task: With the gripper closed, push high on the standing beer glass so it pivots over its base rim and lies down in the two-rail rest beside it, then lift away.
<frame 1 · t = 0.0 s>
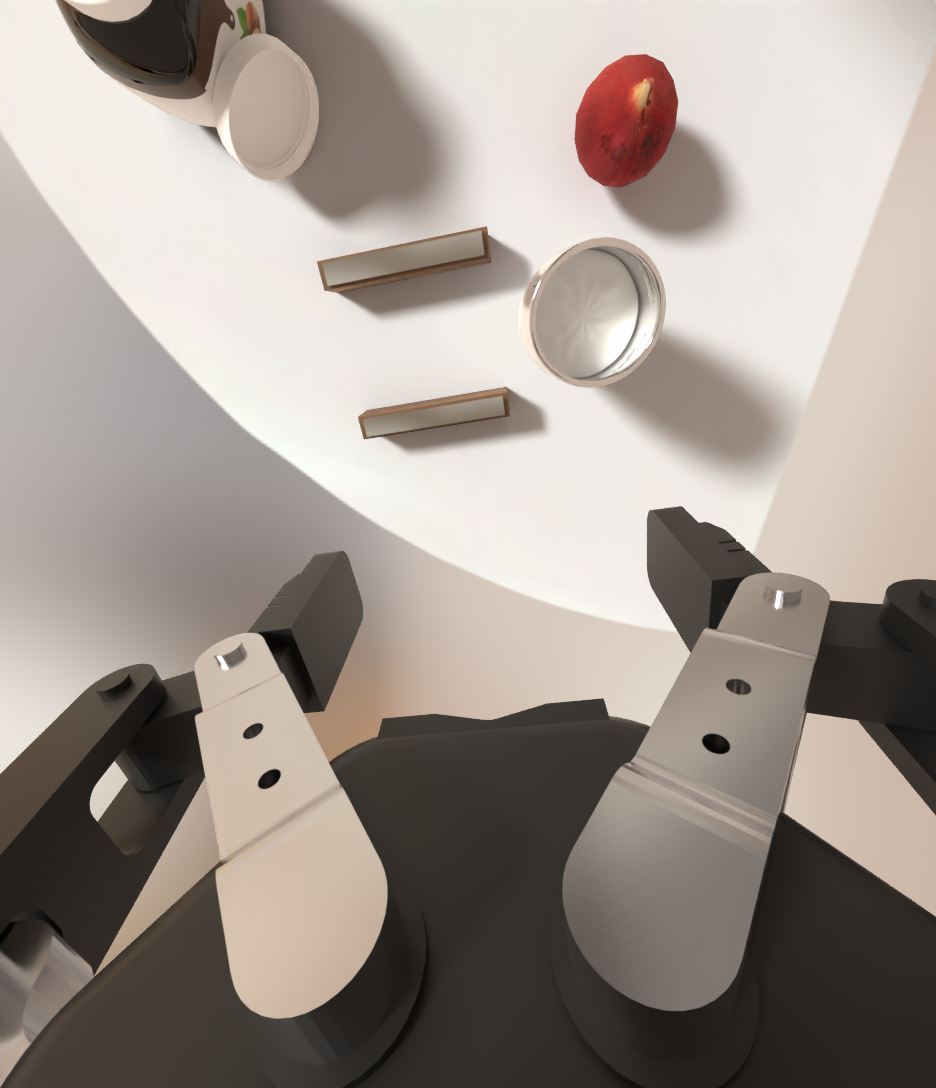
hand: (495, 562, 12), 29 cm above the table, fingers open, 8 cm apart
beer glass: (555, 317, 36), on the table
cradle: (424, 341, 37), on the table
spread jar: (243, 70, 30), on the table
onion: (609, 146, 31), on the table
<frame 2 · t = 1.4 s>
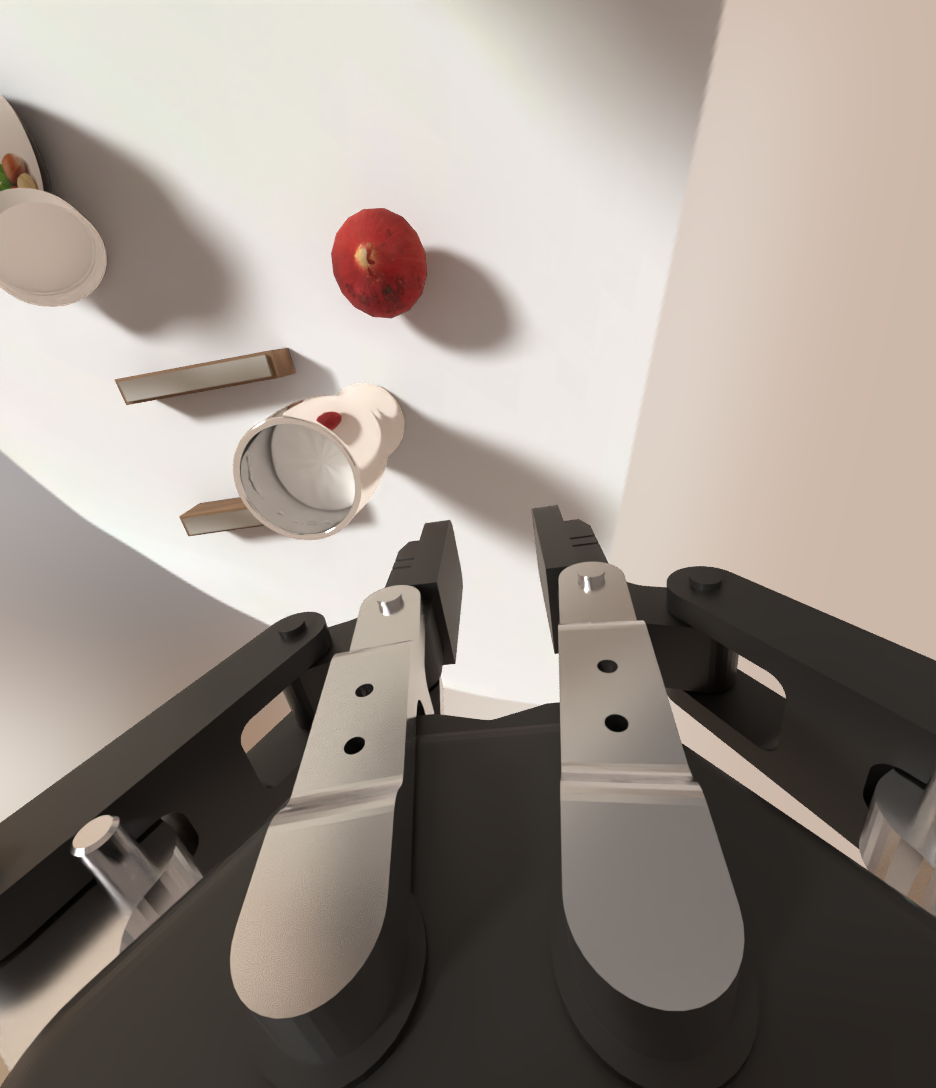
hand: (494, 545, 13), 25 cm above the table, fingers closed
beer glass: (367, 421, 37), on the table
cradle: (244, 442, 38), on the table
spread jar: (31, 201, 31), on the table
onion: (392, 271, 32), on the table
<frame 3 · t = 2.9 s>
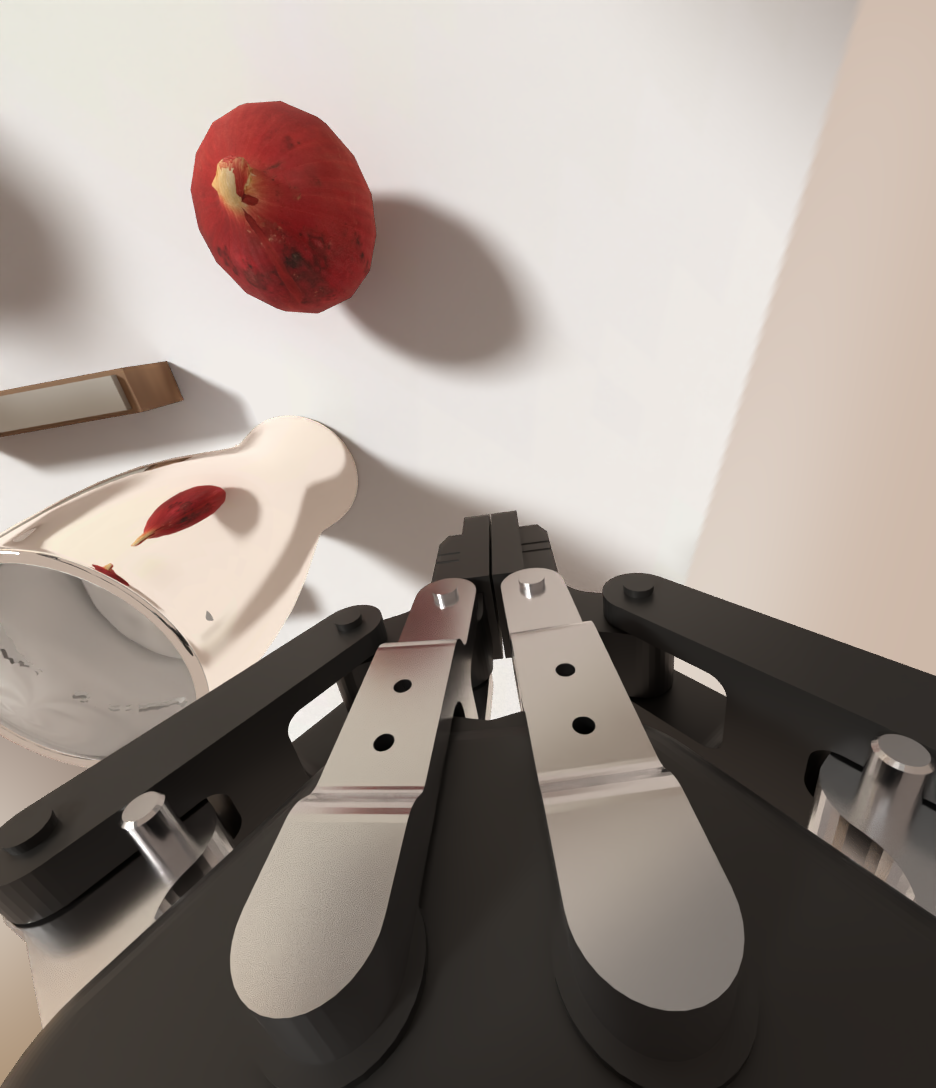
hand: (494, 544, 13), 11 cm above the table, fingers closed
beer glass: (302, 472, 24), on the table
cradle: (118, 502, 25), on the table
onion: (326, 235, 19), on the table
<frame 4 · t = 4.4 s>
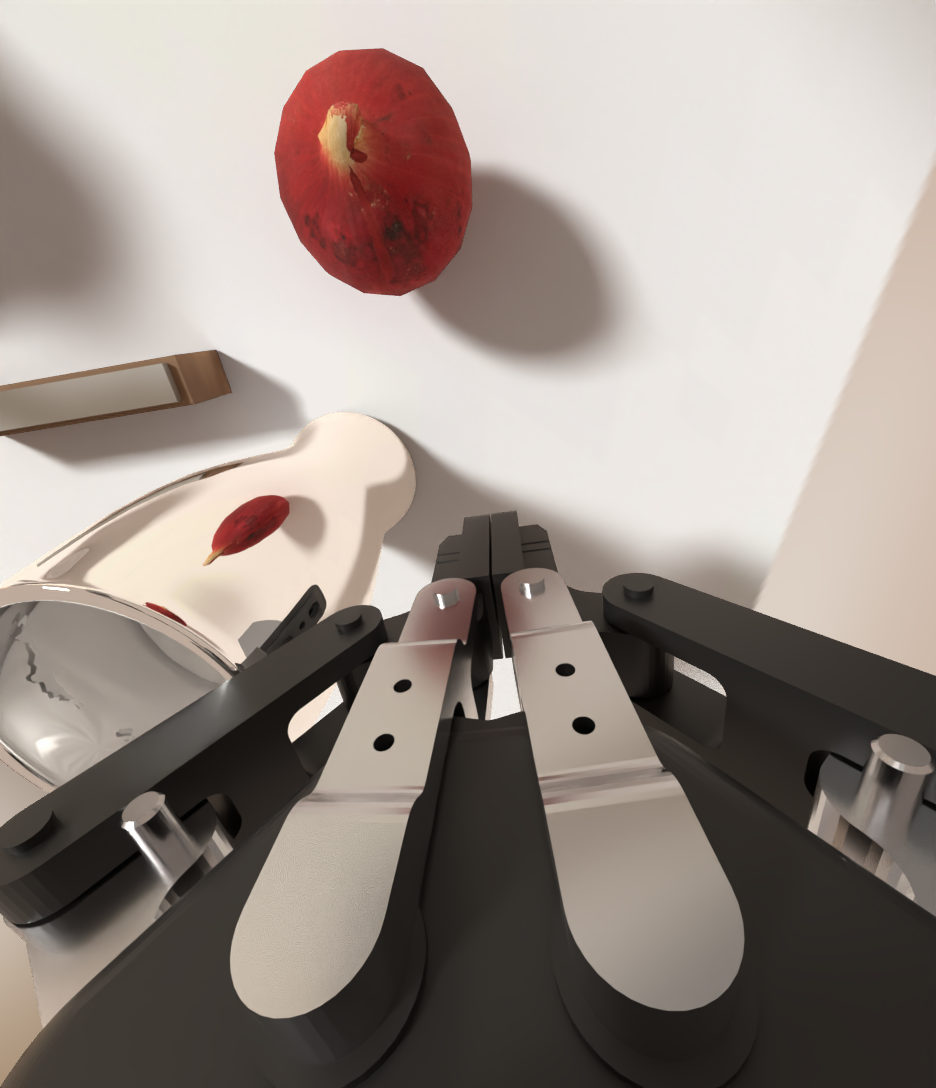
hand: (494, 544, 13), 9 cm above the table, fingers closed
beer glass: (355, 474, 22), on the table, touching hand
cradle: (153, 503, 23), on the table
onion: (399, 213, 18), on the table
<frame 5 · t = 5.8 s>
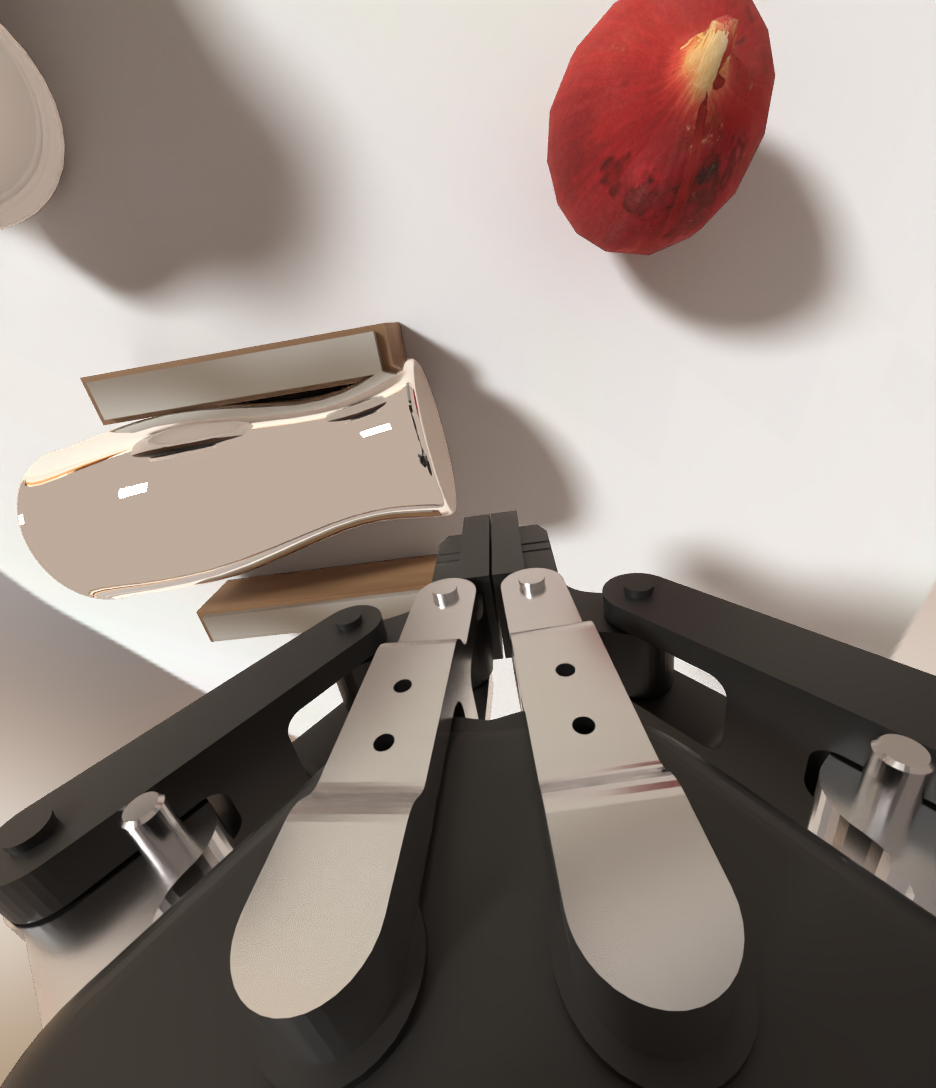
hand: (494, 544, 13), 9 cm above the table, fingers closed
beer glass: (442, 436, 18), point 3 cm above the table, touching cradle
cradle: (307, 486, 22), on the table
onion: (616, 173, 17), on the table
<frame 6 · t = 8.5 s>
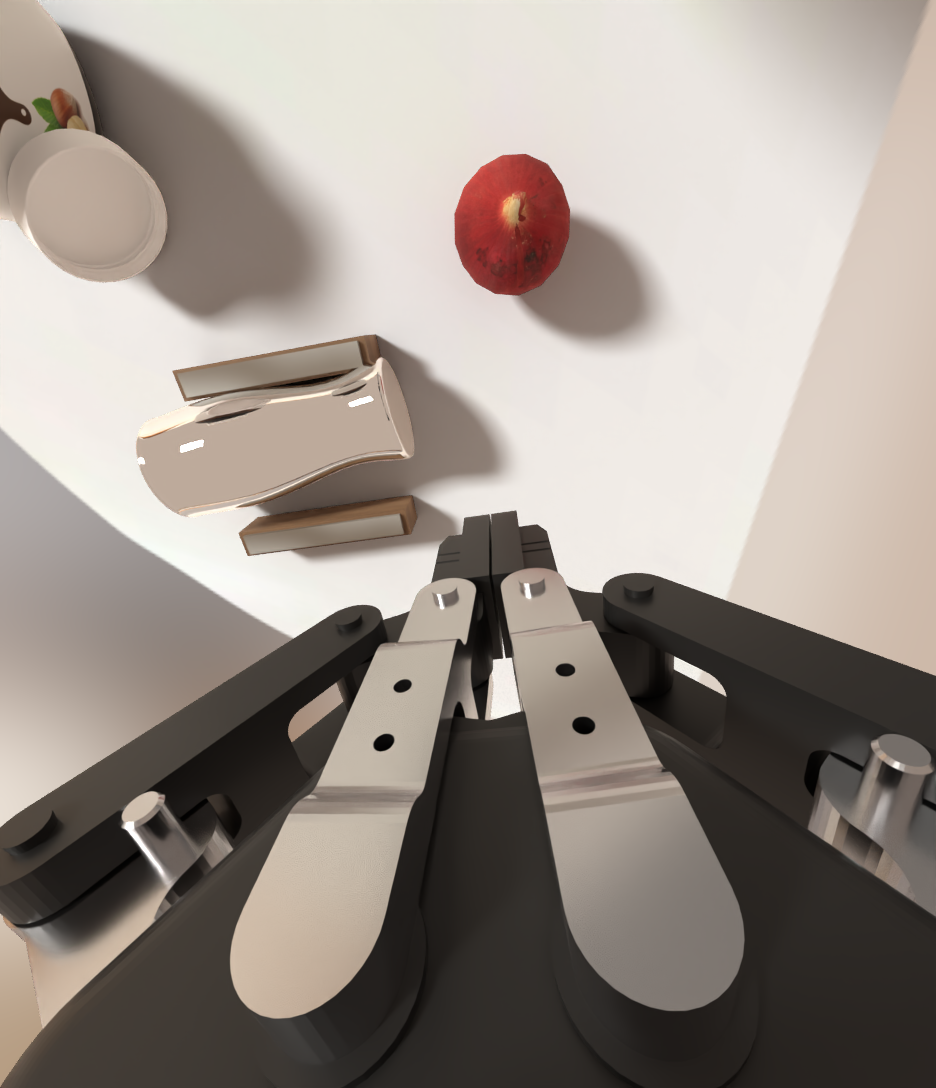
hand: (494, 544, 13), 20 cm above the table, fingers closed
beer glass: (402, 407, 28), point 3 cm above the table, touching cradle
cradle: (315, 446, 32), on the table
spread jar: (79, 156, 26), on the table
onion: (508, 242, 27), on the table
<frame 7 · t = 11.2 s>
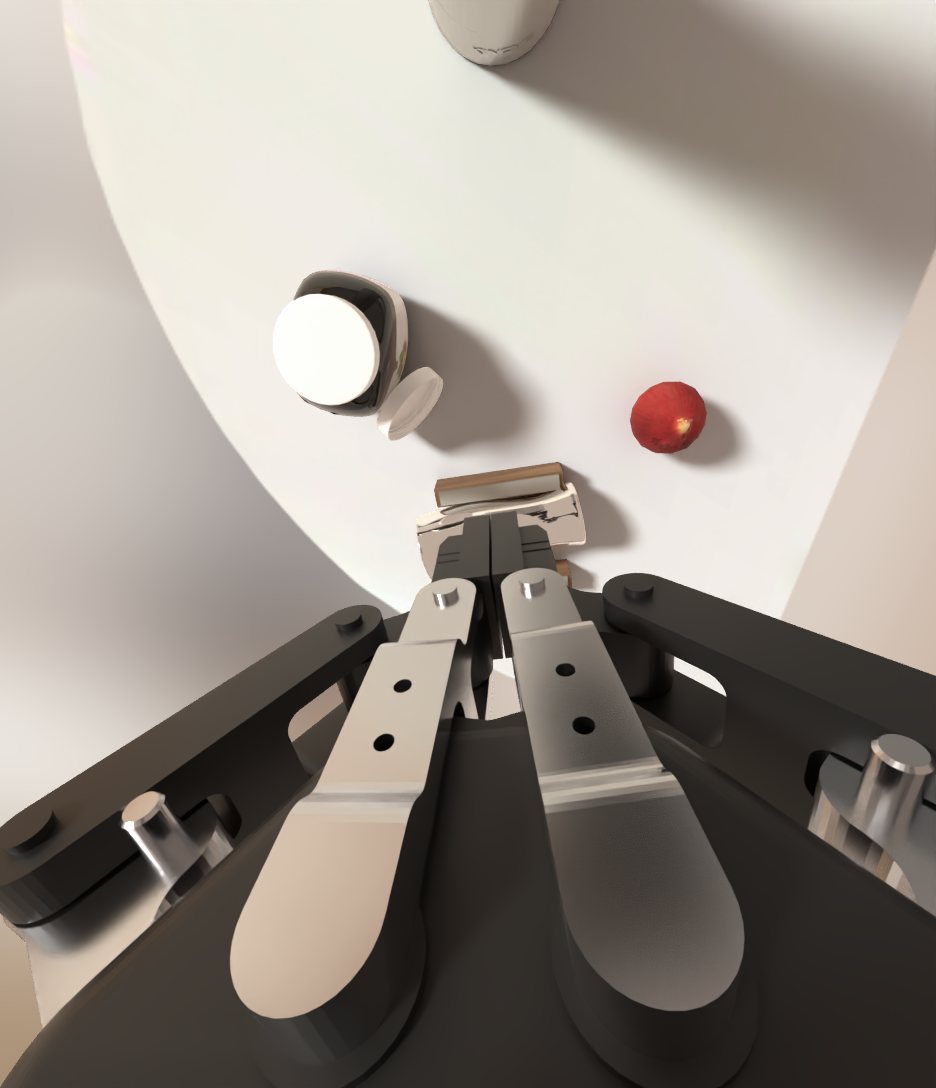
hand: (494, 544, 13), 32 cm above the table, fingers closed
beer glass: (579, 512, 44), point 3 cm above the table, touching cradle
cradle: (505, 528, 48), on the table
spread jar: (385, 359, 42), on the table
onion: (652, 410, 42), on the table
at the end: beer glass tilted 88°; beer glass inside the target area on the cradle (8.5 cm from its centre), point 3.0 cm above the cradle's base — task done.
